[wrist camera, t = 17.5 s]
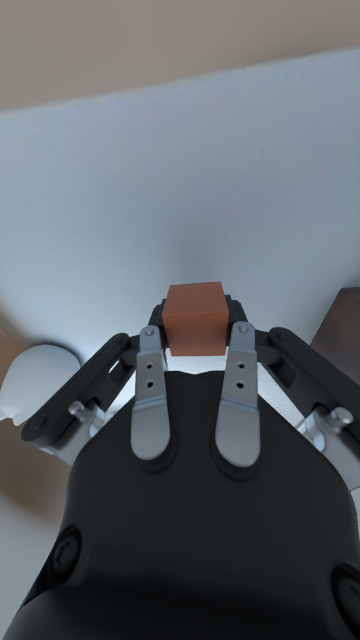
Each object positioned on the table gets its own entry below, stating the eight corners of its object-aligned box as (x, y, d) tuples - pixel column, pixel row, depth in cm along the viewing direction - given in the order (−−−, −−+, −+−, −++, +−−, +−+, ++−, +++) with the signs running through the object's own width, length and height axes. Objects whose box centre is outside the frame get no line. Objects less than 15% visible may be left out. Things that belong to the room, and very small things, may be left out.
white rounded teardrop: (38, 364, 35) (-20, 428, 25) (25, 331, 28) (-58, 399, 19) (87, 376, 36) (50, 439, 27) (85, 347, 30) (35, 417, 20)
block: (169, 285, 13) (161, 314, 10) (220, 281, 12) (229, 310, 9) (176, 323, 15) (171, 356, 12) (219, 321, 15) (225, 355, 12)
